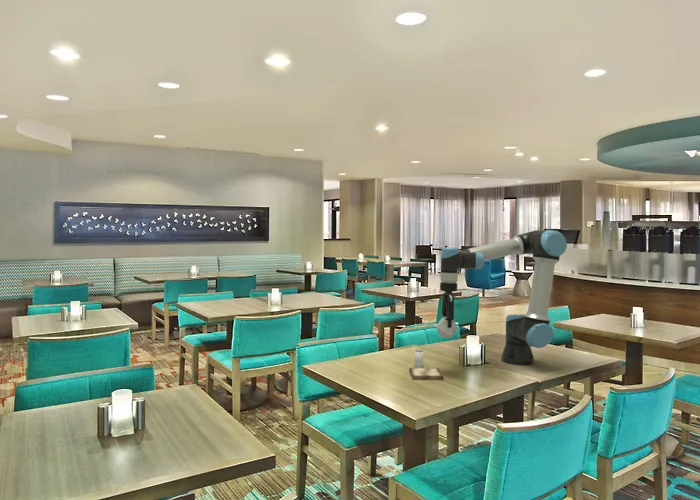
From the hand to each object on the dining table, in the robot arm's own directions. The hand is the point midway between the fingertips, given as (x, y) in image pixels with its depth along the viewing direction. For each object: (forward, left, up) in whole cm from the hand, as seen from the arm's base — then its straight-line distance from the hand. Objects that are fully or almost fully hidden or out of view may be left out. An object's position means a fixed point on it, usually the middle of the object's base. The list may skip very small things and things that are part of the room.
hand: (446, 332), depth 225 cm
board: (+10, +4, -18) cm, 21 cm away
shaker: (+11, -11, -18) cm, 24 cm away
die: (0, 0, -2) cm, 2 cm away
